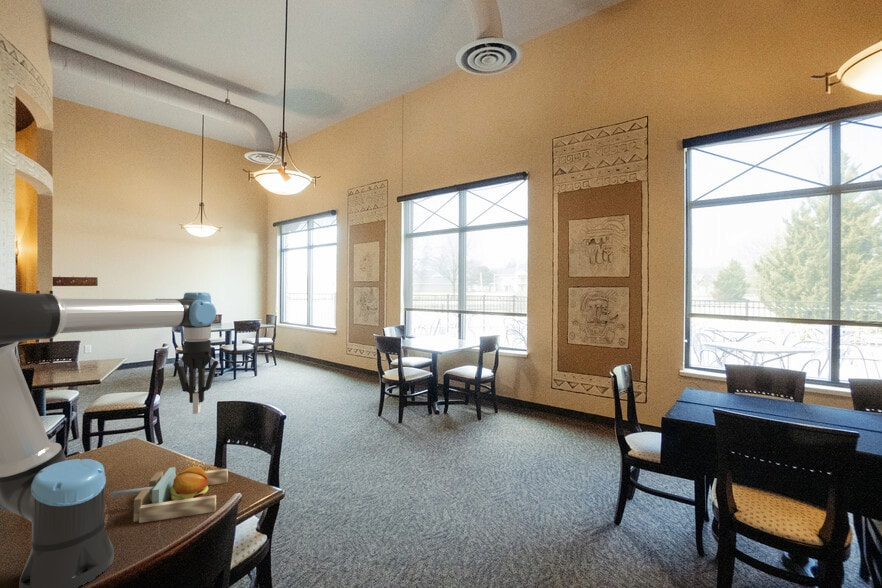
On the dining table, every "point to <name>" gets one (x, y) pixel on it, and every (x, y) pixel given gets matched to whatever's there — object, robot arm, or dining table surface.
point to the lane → (178, 507)
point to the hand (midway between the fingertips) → (196, 412)
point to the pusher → (154, 488)
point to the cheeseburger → (189, 484)
